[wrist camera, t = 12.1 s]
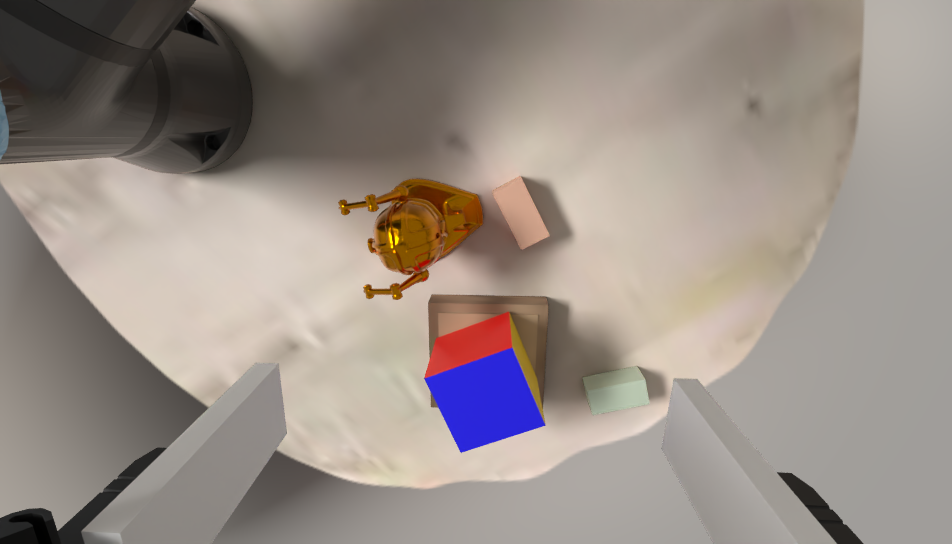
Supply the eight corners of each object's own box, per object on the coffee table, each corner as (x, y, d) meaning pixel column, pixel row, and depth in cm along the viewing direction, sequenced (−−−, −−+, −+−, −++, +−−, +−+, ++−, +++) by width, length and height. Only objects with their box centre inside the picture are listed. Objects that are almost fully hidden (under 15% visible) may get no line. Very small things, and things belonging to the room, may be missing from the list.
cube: (509, 311, 44) (512, 347, 36) (536, 377, 46) (545, 425, 38) (436, 338, 45) (424, 378, 38) (466, 401, 47) (460, 452, 40)
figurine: (367, 188, 44) (322, 205, 32) (473, 165, 43) (465, 174, 31) (389, 269, 46) (354, 312, 35) (490, 249, 45) (489, 287, 34)
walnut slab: (434, 394, 50) (430, 407, 48) (431, 294, 47) (427, 303, 44) (540, 397, 50) (542, 410, 47) (545, 296, 46) (548, 305, 44)
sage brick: (586, 399, 50) (592, 415, 47) (581, 376, 49) (587, 391, 46) (640, 388, 49) (649, 404, 46) (636, 365, 48) (645, 379, 46)
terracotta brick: (546, 229, 45) (549, 235, 42) (519, 243, 45) (521, 250, 42) (520, 175, 43) (521, 178, 40) (492, 190, 44) (492, 193, 41)
